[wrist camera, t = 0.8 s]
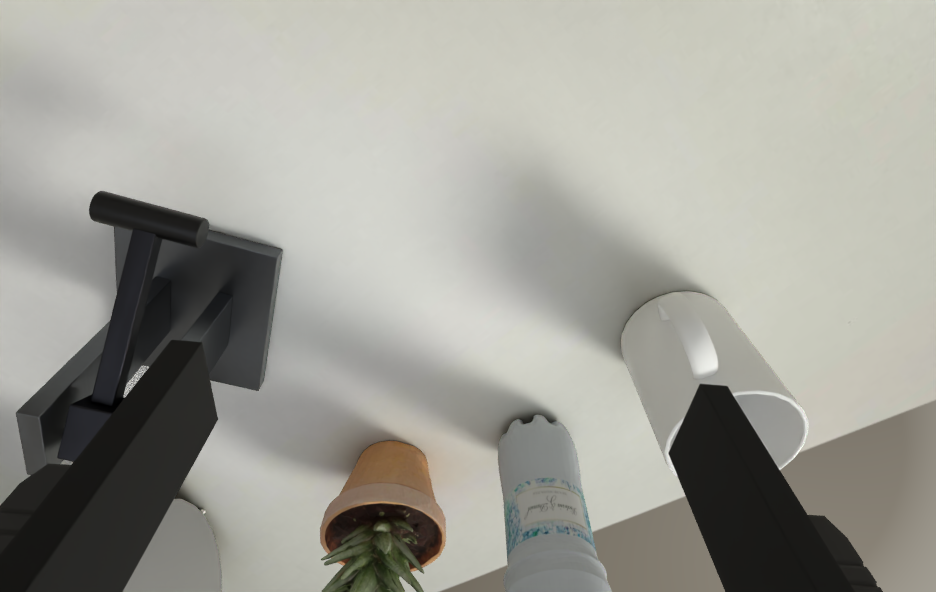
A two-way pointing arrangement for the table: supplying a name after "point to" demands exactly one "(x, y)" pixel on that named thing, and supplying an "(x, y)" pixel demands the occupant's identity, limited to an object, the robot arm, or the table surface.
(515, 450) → the bottle
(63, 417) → the lever stand
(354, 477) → the potted plant
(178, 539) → the alarm clock
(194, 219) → the lever
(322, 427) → the table surface
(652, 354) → the mug
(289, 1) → the table surface
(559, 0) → the table surface
